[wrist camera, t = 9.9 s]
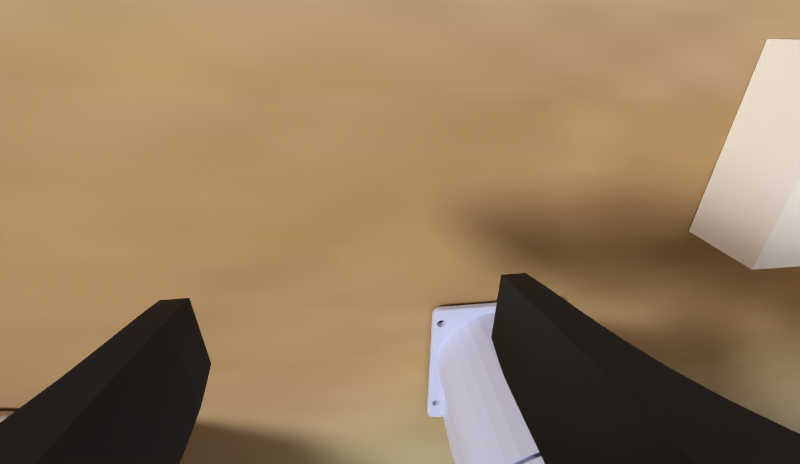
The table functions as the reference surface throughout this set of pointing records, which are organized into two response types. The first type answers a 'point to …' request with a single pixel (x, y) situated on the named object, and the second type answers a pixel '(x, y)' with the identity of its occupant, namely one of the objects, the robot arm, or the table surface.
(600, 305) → the table surface
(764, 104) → the painted block
